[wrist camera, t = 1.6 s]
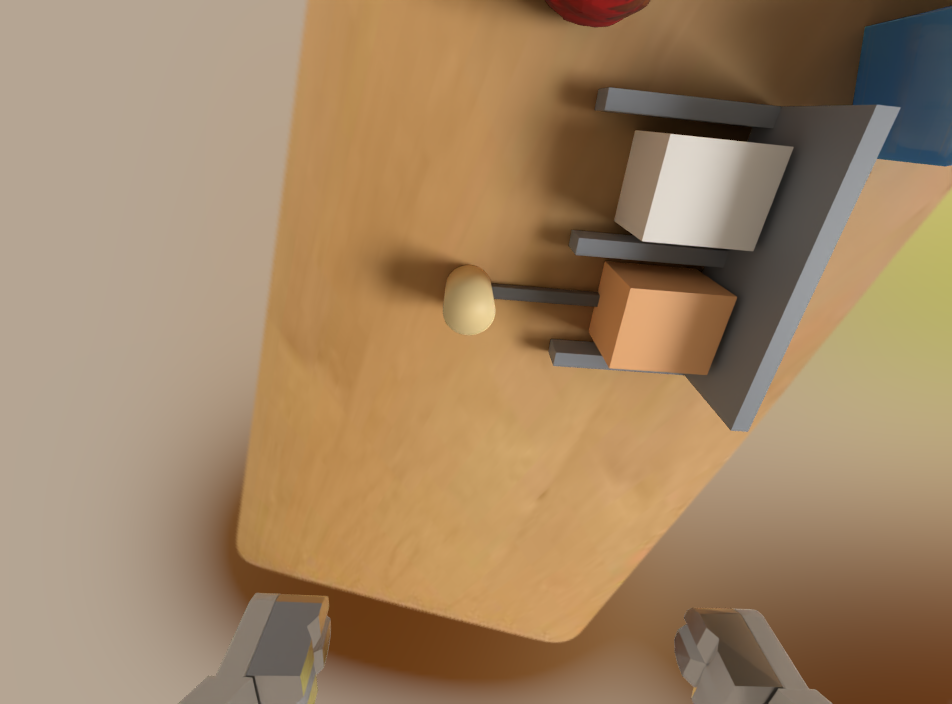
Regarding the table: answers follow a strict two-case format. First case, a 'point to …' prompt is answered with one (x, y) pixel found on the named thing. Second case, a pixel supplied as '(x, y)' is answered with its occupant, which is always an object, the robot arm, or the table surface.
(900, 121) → the perfume bottle
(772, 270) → the lane rack
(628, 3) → the red clay folk toy
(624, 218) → the white block
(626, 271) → the tan block and knob
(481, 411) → the table surface
